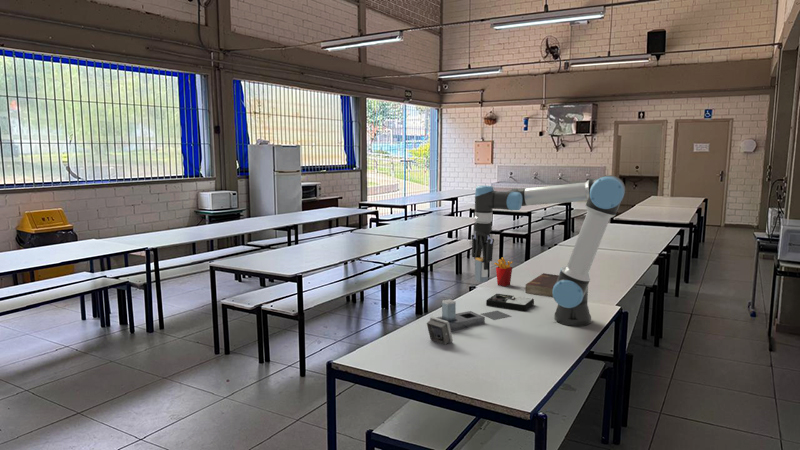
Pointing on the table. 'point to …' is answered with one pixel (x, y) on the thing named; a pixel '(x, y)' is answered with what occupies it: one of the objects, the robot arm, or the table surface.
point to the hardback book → (542, 285)
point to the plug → (479, 270)
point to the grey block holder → (459, 316)
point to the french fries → (503, 272)
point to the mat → (495, 315)
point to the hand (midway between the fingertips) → (481, 275)
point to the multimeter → (510, 302)
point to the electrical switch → (439, 330)
